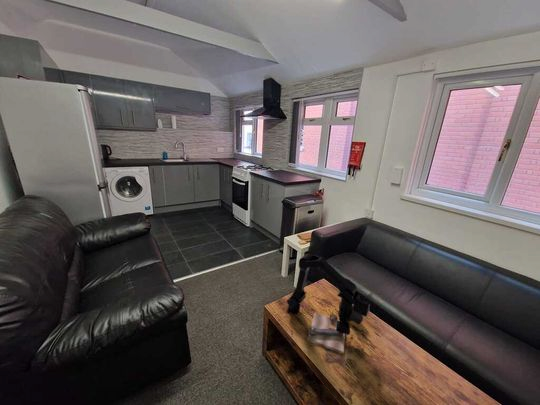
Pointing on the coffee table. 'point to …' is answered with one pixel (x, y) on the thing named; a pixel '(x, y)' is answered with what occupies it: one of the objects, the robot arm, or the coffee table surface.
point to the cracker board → (327, 340)
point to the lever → (324, 332)
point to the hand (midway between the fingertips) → (341, 329)
